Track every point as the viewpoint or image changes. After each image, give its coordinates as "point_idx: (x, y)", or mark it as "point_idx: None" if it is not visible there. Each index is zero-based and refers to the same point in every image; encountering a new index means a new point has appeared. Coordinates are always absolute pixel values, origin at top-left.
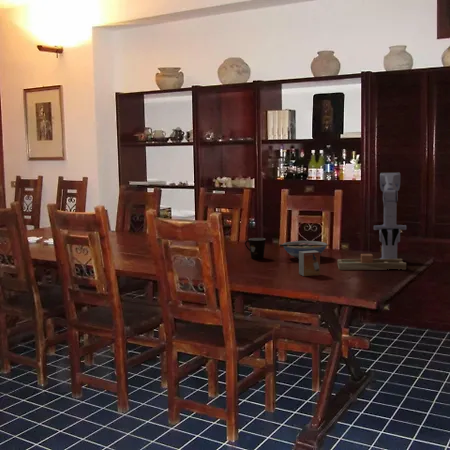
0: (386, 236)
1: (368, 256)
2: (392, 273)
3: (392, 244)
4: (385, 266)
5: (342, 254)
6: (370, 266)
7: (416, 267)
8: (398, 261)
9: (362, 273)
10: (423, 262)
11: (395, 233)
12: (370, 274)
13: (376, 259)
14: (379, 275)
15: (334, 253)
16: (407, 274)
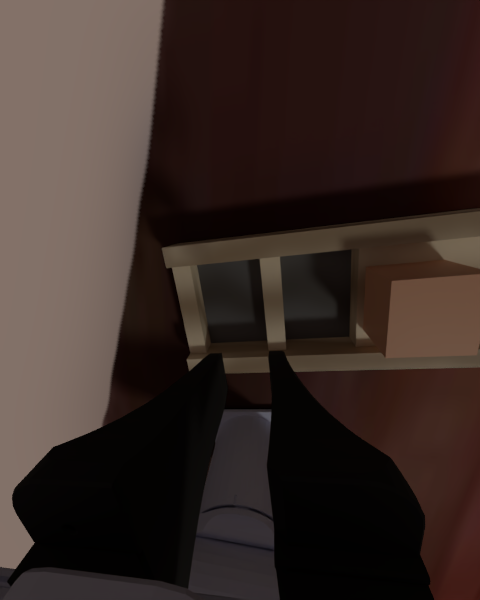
0: (291, 407)
1: (427, 276)
2: (254, 109)
3: (221, 364)
4: (288, 231)
5: (438, 560)
6: (387, 220)
7: (133, 303)
8: (209, 352)
9: (467, 70)
10: (115, 405)
11: (121, 438)
12: (413, 36)
13: (331, 354)
14: (351, 4)
15: (469, 579)
16: (165, 88)
